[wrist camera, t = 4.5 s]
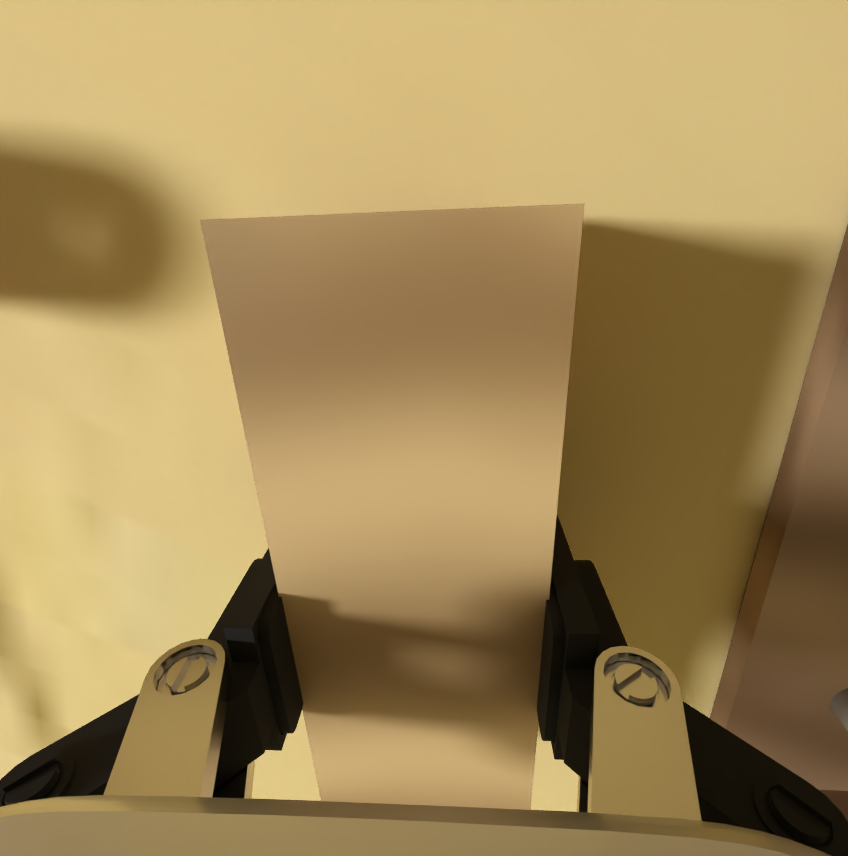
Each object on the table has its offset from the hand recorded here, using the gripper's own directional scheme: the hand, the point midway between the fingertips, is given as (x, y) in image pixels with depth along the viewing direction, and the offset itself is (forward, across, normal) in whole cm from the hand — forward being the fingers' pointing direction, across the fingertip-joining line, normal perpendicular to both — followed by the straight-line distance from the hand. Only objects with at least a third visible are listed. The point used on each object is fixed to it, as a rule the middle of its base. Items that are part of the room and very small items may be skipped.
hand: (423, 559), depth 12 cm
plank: (+1, 0, 0) cm, 1 cm away
